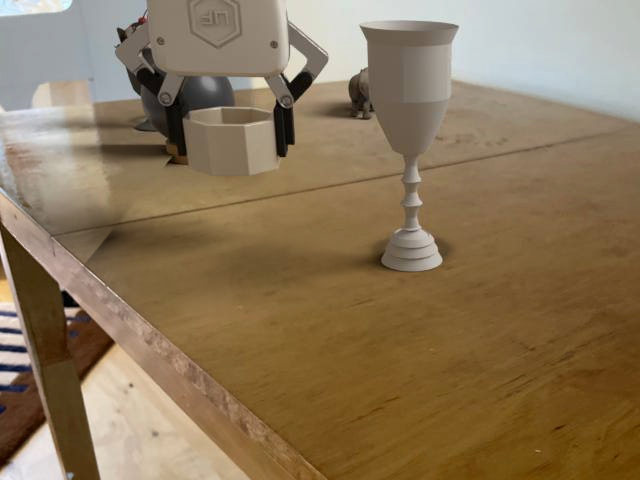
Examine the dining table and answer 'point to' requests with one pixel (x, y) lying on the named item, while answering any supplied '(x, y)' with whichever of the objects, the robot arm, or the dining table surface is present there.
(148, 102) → the ball
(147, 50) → the sundae
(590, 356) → the dining table surface
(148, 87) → the robot arm
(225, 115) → the ring
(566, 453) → the dining table surface
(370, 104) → the rhino figurine
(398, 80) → the chalice
